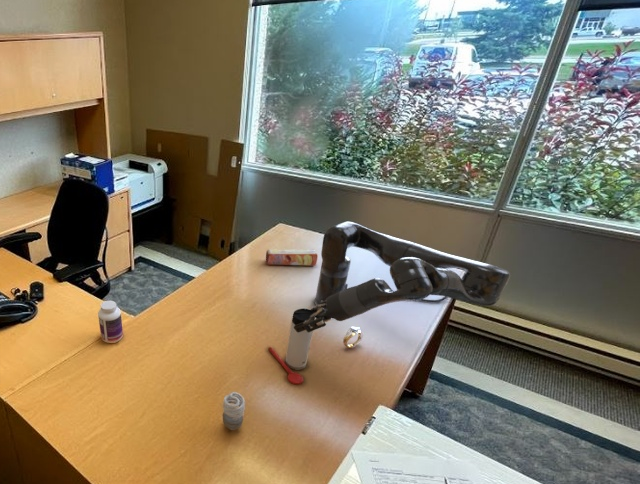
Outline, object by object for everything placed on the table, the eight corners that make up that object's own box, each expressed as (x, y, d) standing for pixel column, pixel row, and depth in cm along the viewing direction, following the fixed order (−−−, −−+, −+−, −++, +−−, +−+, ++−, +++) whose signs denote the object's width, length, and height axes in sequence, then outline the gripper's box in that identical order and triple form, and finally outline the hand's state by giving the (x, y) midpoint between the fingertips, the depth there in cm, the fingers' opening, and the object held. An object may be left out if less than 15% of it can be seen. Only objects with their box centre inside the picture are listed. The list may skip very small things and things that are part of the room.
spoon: (263, 350, 139) (263, 347, 139) (275, 347, 140) (275, 345, 140) (292, 386, 125) (293, 383, 124) (305, 382, 126) (306, 380, 125)
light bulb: (218, 421, 115) (220, 390, 110) (238, 418, 116) (241, 387, 110) (224, 438, 111) (227, 406, 105) (245, 435, 111) (248, 404, 105)
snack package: (266, 266, 188) (268, 253, 184) (265, 259, 193) (266, 246, 190) (316, 267, 184) (318, 254, 180) (313, 260, 189) (315, 247, 186)
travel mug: (308, 371, 130) (319, 319, 120) (286, 369, 131) (294, 318, 121) (305, 357, 135) (315, 307, 125) (284, 356, 136) (291, 306, 127)
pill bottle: (126, 333, 152) (124, 300, 145) (117, 346, 146) (113, 313, 139) (107, 328, 155) (103, 296, 148) (97, 341, 149) (92, 308, 142)
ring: (356, 342, 140) (361, 323, 136) (363, 348, 137) (368, 328, 133) (338, 346, 139) (342, 327, 135) (345, 352, 136) (349, 333, 132)
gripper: (350, 327, 108) (299, 344, 121) (364, 302, 117) (316, 320, 130) (332, 304, 109) (284, 323, 121) (348, 280, 118) (302, 301, 130)
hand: (301, 322), depth 125 cm, fingers open, 8 cm apart
